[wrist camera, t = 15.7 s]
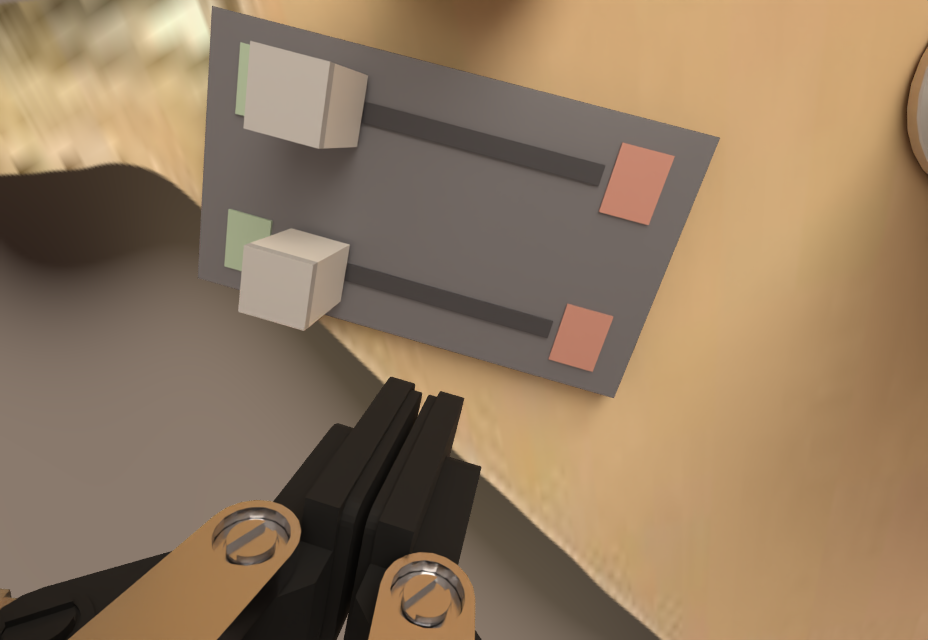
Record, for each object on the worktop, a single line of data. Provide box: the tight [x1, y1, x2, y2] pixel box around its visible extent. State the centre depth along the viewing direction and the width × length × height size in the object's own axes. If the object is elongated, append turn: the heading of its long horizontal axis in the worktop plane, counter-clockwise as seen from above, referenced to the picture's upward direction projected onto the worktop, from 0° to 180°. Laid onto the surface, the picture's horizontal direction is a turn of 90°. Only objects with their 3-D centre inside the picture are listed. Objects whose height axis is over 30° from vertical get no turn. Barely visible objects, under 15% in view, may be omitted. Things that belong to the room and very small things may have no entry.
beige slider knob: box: [238, 228, 350, 331], centre depth 31 cm, size 4×4×6 cm
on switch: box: [243, 41, 368, 149], centre depth 27 cm, size 4×4×6 cm
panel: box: [198, 6, 720, 398], centre depth 33 cm, size 30×17×2 cm, turn 76°
